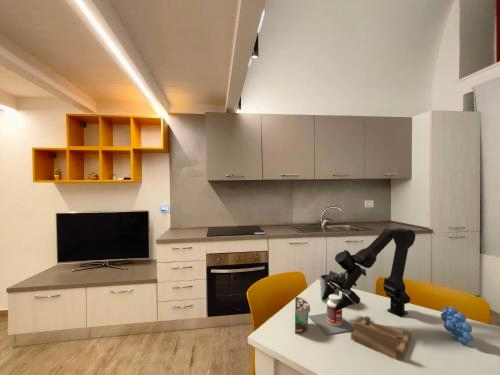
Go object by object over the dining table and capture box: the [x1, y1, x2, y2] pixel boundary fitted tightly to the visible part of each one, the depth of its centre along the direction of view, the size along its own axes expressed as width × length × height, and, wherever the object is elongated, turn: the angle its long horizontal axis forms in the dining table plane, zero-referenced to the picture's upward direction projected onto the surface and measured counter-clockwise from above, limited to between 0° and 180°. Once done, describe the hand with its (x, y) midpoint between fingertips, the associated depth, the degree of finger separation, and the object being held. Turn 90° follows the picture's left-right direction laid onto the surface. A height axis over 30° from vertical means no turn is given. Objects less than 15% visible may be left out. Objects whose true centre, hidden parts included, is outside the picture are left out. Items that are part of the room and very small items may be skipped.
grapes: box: [440, 306, 474, 345], centre depth 91 cm, size 12×7×12 cm, turn 9°
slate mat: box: [308, 312, 354, 336], centre depth 102 cm, size 14×14×1 cm
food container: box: [294, 296, 311, 335], centre depth 99 cm, size 12×6×10 cm, turn 168°
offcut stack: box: [368, 321, 404, 344], centre depth 94 cm, size 6×12×2 cm, turn 55°
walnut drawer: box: [350, 315, 412, 361], centre depth 92 cm, size 18×16×7 cm
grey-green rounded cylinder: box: [319, 273, 340, 305], centre depth 122 cm, size 10×10×12 cm
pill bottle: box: [326, 294, 343, 326], centre depth 102 cm, size 6×6×11 cm
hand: (328, 304), depth 102 cm, fingers open, 9 cm apart
